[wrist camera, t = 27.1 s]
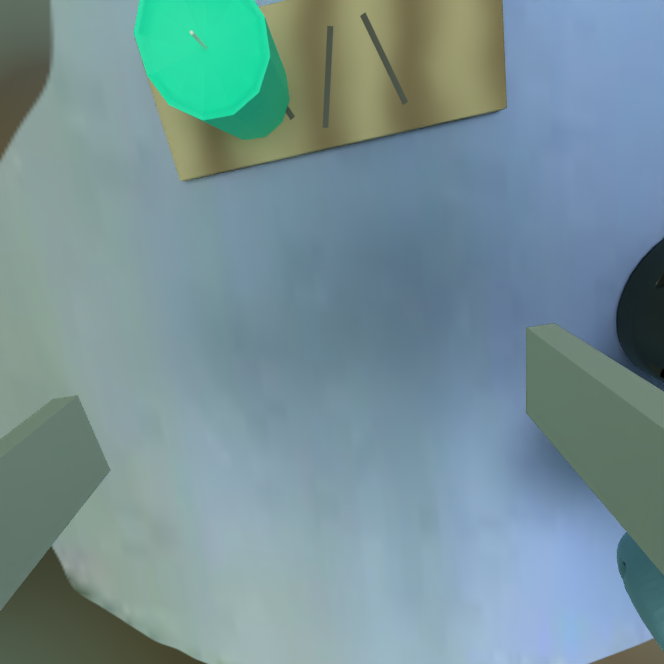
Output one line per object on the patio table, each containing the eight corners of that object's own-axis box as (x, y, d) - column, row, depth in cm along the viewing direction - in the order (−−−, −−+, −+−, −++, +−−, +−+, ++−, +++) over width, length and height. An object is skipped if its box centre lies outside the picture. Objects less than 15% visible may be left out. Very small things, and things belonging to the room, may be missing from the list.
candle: (203, 33, 26) (112, -76, 15) (294, 48, 27) (270, -48, 15) (201, 133, 28) (120, 103, 17) (285, 146, 29) (259, 125, 18)
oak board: (490, -40, 26) (500, -53, 25) (498, 111, 29) (506, 107, 28) (144, 44, 28) (134, 37, 26) (186, 180, 31) (180, 180, 29)
